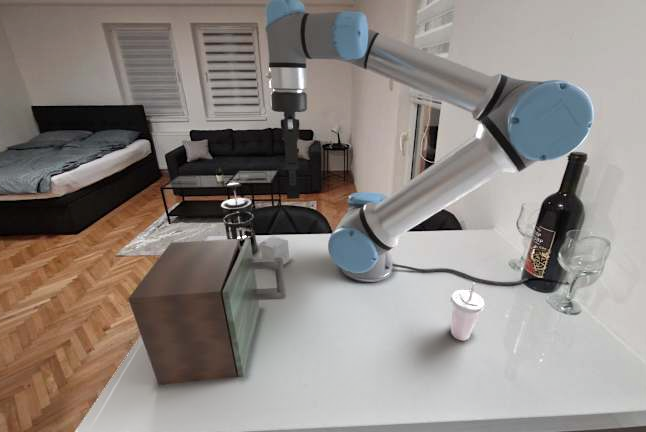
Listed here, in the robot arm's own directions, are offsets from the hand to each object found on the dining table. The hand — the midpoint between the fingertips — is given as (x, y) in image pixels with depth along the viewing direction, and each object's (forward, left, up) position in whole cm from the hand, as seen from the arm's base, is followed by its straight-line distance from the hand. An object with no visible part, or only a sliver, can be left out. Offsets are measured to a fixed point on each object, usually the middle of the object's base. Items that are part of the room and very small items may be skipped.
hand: (292, 187), depth 72 cm
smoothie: (-35, +22, -28) cm, 50 cm away
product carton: (+7, -12, -28) cm, 31 cm away
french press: (+18, -21, -28) cm, 39 cm away
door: (+7, +19, -28) cm, 34 cm away
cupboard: (+19, +18, -28) cm, 38 cm away
